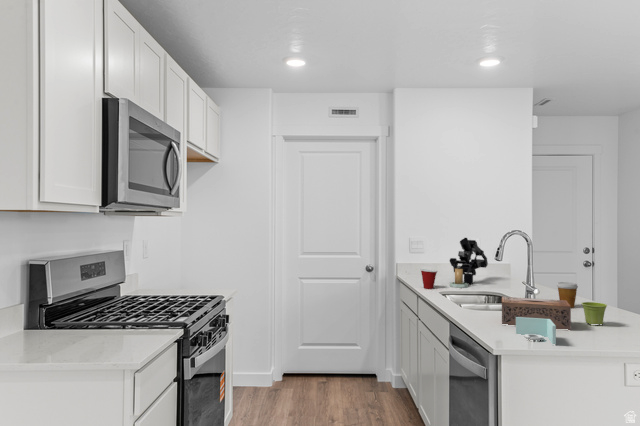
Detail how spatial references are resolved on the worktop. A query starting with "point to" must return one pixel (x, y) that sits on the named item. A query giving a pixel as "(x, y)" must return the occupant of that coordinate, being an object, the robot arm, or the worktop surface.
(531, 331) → the right angle wall
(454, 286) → the dish
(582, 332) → the worktop surface
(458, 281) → the bottle
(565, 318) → the tissue box cover
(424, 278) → the plastic cup
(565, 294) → the disposable coffee cup
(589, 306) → the plant pot
